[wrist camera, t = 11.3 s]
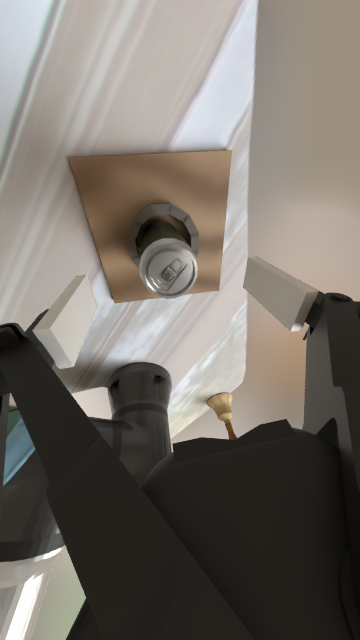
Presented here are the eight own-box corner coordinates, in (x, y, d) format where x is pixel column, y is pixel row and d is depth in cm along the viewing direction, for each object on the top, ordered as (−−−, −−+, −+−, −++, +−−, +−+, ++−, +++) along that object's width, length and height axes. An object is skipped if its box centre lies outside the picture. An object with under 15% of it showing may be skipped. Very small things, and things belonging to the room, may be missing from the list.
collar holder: (217, 287, 32) (225, 298, 29) (115, 300, 30) (111, 313, 27) (228, 151, 21) (243, 145, 18) (71, 158, 19) (56, 153, 16)
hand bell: (228, 405, 60) (251, 463, 47) (205, 408, 58) (221, 469, 46) (235, 391, 55) (262, 452, 42) (209, 393, 53) (229, 457, 41)
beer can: (159, 209, 23) (169, 224, 13) (187, 240, 25) (212, 272, 16) (133, 241, 24) (125, 275, 15) (162, 267, 27) (170, 310, 18)
